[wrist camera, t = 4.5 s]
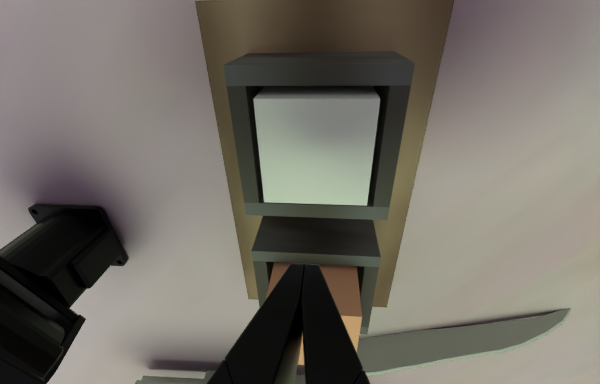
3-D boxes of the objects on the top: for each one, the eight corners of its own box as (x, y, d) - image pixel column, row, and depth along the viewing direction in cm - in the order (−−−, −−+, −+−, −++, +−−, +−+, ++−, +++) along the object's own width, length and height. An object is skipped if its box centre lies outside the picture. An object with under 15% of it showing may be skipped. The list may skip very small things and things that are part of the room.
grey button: (276, 165, 17) (264, 202, 14) (270, 79, 15) (253, 99, 11) (359, 167, 17) (367, 205, 14) (368, 78, 14) (380, 99, 11)
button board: (253, 280, 27) (235, 342, 22) (209, 2, 15) (150, -4, 10) (382, 288, 26) (395, 354, 21) (440, -5, 14) (501, -15, 9)
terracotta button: (280, 305, 21) (270, 362, 17) (275, 254, 18) (263, 310, 15) (350, 309, 20) (354, 369, 17) (355, 258, 18) (362, 317, 14)
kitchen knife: (269, 385, 31) (610, 357, 22) (265, 380, 31) (612, 350, 22) (276, 346, 35) (572, 310, 26) (273, 341, 34) (573, 302, 25)
